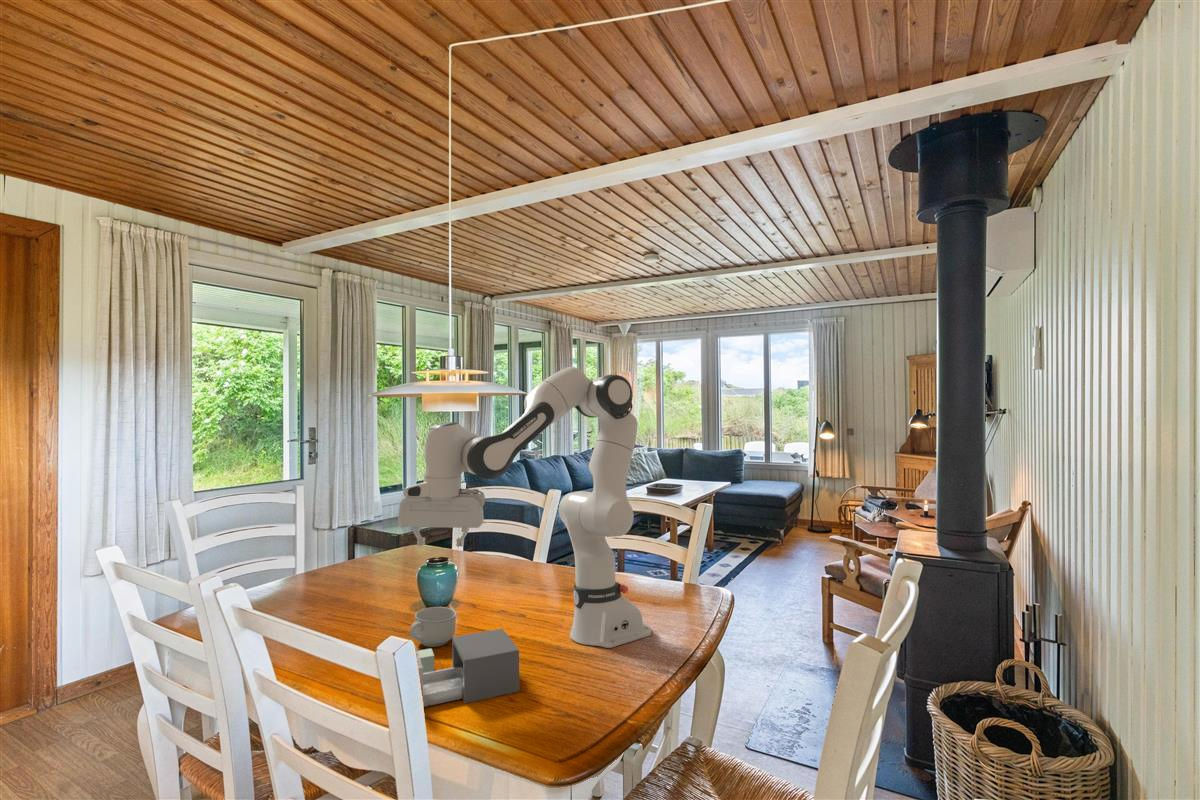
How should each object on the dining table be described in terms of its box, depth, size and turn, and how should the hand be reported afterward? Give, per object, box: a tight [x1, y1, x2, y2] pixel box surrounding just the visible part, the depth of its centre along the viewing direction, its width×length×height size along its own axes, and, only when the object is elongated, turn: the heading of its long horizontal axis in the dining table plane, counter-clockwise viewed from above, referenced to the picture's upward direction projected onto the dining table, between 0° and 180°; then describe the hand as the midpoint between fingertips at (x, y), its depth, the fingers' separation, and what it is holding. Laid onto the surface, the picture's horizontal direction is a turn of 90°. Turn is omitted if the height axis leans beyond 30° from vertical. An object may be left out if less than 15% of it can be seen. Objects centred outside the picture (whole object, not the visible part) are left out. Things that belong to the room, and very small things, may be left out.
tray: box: [414, 645, 463, 708], centre depth 124 cm, size 12×12×8 cm
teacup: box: [409, 606, 457, 648], centre depth 150 cm, size 14×11×8 cm
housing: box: [451, 628, 520, 704], centre depth 128 cm, size 12×14×9 cm
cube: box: [417, 648, 435, 673], centre depth 134 cm, size 4×4×4 cm
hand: (440, 545), depth 137 cm, fingers open, 8 cm apart
